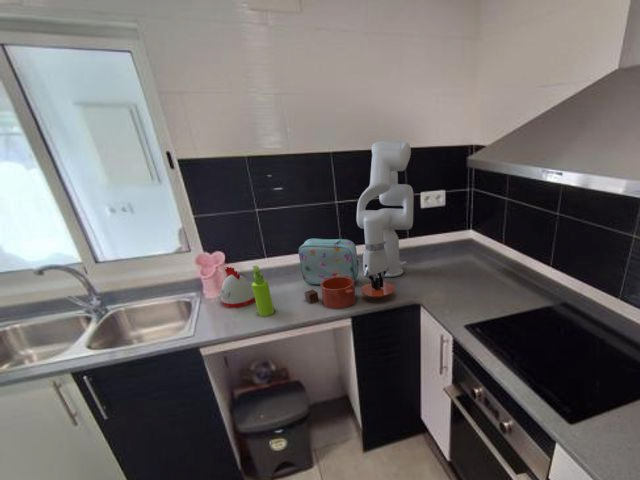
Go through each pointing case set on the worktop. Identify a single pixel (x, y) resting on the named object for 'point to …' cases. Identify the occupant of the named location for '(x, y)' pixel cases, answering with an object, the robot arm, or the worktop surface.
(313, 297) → the block
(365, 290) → the lid
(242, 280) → the kitchen timer
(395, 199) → the robot arm
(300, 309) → the worktop surface
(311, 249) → the lunch box
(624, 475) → the worktop surface
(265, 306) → the soap dispenser
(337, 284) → the pot
